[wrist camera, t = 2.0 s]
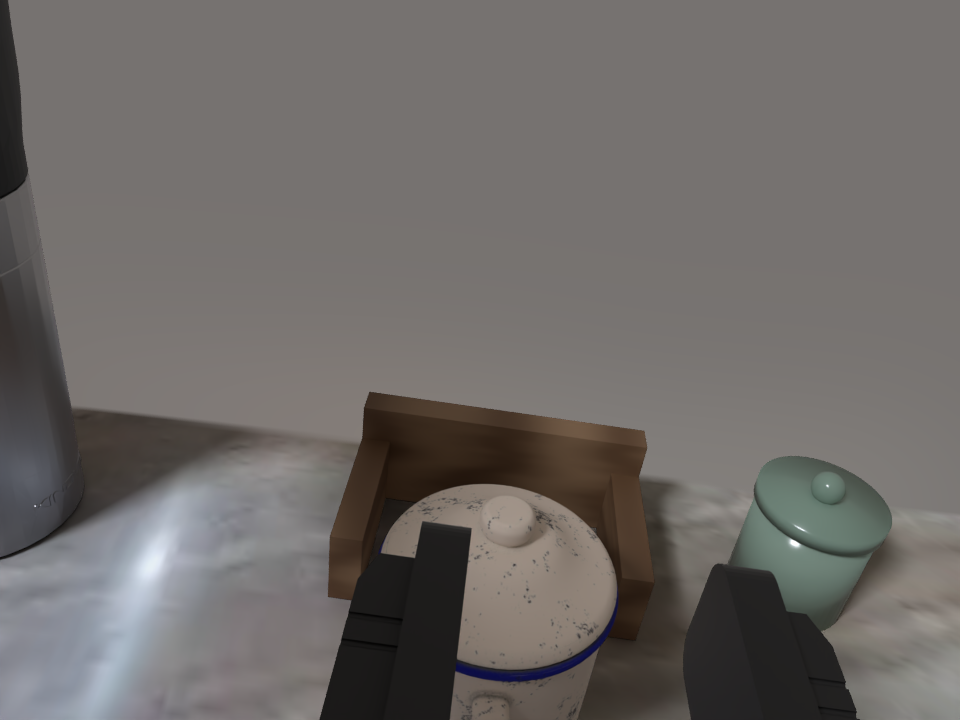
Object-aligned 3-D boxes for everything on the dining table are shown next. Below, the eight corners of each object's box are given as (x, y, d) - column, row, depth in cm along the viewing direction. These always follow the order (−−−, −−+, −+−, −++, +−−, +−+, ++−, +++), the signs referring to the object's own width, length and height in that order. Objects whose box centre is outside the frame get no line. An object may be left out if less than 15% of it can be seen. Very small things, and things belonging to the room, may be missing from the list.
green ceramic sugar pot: (736, 626, 40) (785, 510, 36) (713, 536, 46) (754, 427, 41) (861, 644, 40) (925, 530, 36) (823, 552, 46) (875, 444, 42)
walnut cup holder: (327, 596, 38) (330, 503, 35) (364, 477, 46) (369, 391, 43) (635, 640, 38) (665, 551, 35) (620, 513, 46) (644, 431, 43)
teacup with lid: (380, 616, 38) (396, 419, 32) (569, 636, 38) (620, 445, 32) (334, 892, 28) (345, 679, 22) (592, 915, 28) (674, 712, 22)
